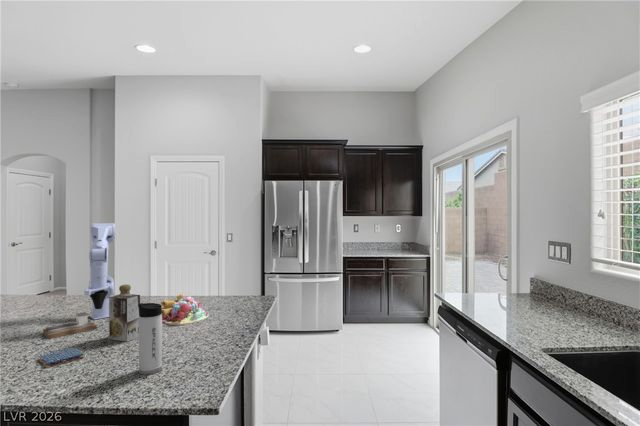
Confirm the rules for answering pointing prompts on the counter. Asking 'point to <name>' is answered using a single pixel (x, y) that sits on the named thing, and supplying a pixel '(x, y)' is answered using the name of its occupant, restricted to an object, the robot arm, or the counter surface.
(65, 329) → the fader board
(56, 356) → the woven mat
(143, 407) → the counter surface
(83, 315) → the fader knob
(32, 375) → the counter surface
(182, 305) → the candy landscape model
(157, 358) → the travel mug
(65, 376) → the counter surface
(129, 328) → the coffee box
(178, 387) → the counter surface
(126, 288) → the cork
